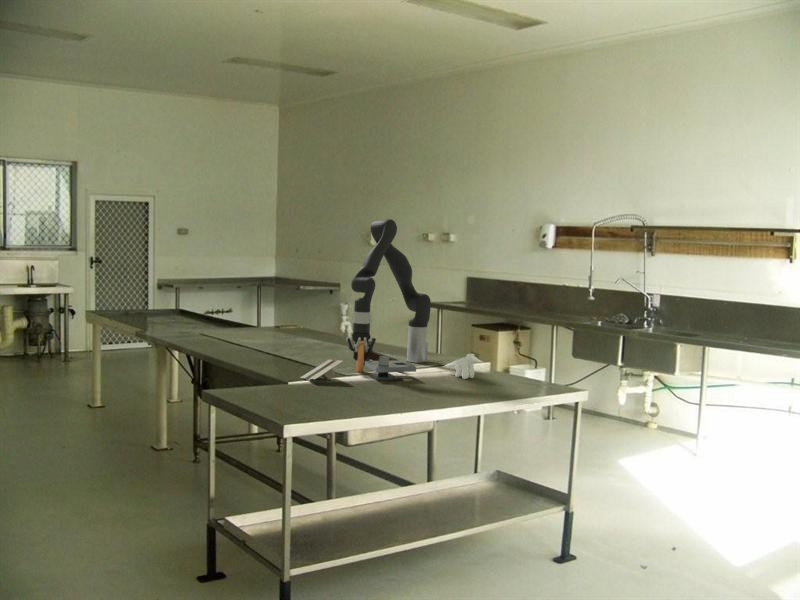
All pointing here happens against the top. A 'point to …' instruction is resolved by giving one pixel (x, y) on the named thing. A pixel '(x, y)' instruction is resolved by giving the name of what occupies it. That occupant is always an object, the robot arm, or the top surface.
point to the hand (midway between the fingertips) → (359, 359)
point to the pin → (360, 357)
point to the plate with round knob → (388, 368)
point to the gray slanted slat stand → (322, 370)
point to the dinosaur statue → (464, 366)
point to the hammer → (376, 355)
